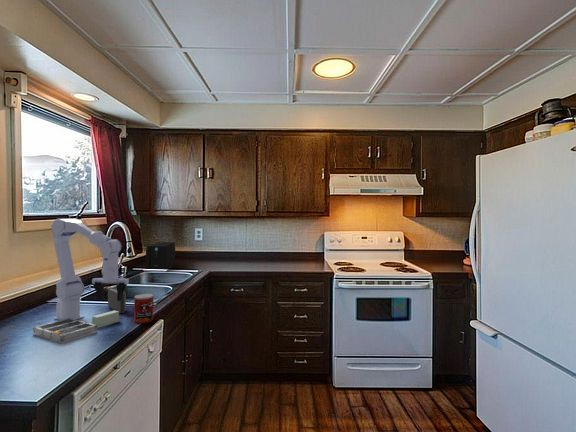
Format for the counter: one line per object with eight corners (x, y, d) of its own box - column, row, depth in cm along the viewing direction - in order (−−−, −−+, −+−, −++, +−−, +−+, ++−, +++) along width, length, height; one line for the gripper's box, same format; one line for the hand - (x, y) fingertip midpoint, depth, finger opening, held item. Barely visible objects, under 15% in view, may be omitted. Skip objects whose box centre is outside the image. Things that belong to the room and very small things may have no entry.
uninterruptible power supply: (144, 272, 274) (145, 246, 273) (156, 265, 307) (156, 242, 307) (166, 272, 275) (167, 246, 275) (176, 265, 309) (176, 242, 308)
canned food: (134, 324, 151) (134, 298, 151) (134, 319, 158) (134, 294, 158) (153, 322, 154) (153, 297, 154) (152, 317, 161) (152, 292, 161)
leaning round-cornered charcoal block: (130, 312, 168) (130, 292, 168) (120, 314, 165) (120, 294, 164) (116, 305, 179) (116, 287, 179) (107, 307, 176) (107, 288, 175)
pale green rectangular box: (92, 327, 147) (92, 316, 147) (114, 320, 156) (114, 310, 156) (97, 328, 146) (97, 317, 146) (118, 321, 155) (118, 311, 155)
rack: (33, 334, 137) (33, 325, 137) (69, 324, 149) (69, 316, 149) (61, 343, 129) (61, 334, 129) (96, 332, 141) (96, 323, 141)
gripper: (88, 269, 147) (87, 302, 147) (123, 270, 147) (123, 303, 148) (97, 267, 154) (96, 298, 154) (131, 267, 154) (130, 298, 155)
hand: (110, 300), depth 151 cm, fingers open, 7 cm apart
